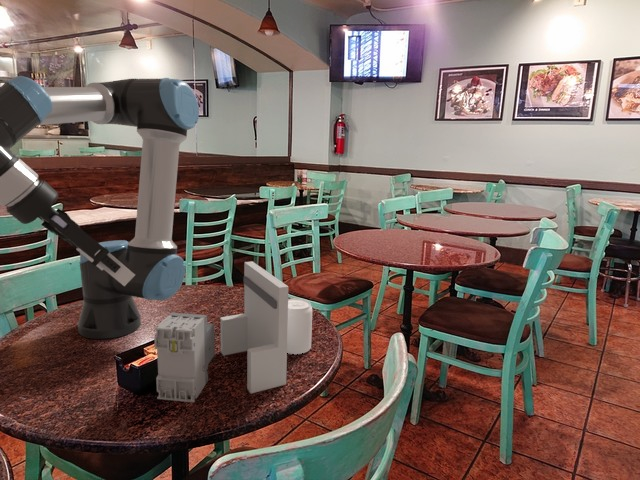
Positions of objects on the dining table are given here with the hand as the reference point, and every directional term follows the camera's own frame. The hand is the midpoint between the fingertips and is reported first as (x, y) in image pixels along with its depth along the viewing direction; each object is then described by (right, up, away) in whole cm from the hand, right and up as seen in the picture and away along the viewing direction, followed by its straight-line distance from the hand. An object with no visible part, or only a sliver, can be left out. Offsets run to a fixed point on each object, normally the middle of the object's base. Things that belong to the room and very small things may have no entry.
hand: (117, 272), depth 87 cm
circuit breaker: (+11, -24, +9) cm, 28 cm away
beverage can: (+33, -21, +25) cm, 47 cm away
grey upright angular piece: (+23, -23, +16) cm, 36 cm away
